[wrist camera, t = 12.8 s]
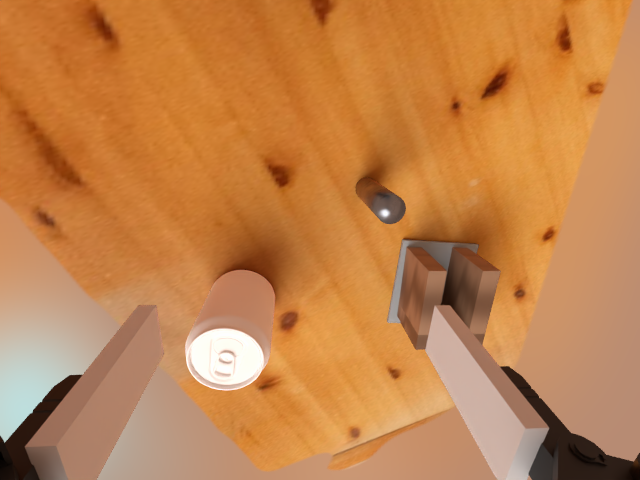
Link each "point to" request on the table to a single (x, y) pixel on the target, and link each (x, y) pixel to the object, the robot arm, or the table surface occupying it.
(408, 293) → the c link
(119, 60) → the table surface
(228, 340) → the beverage can
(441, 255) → the mat
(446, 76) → the table surface
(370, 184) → the post
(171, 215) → the table surface
